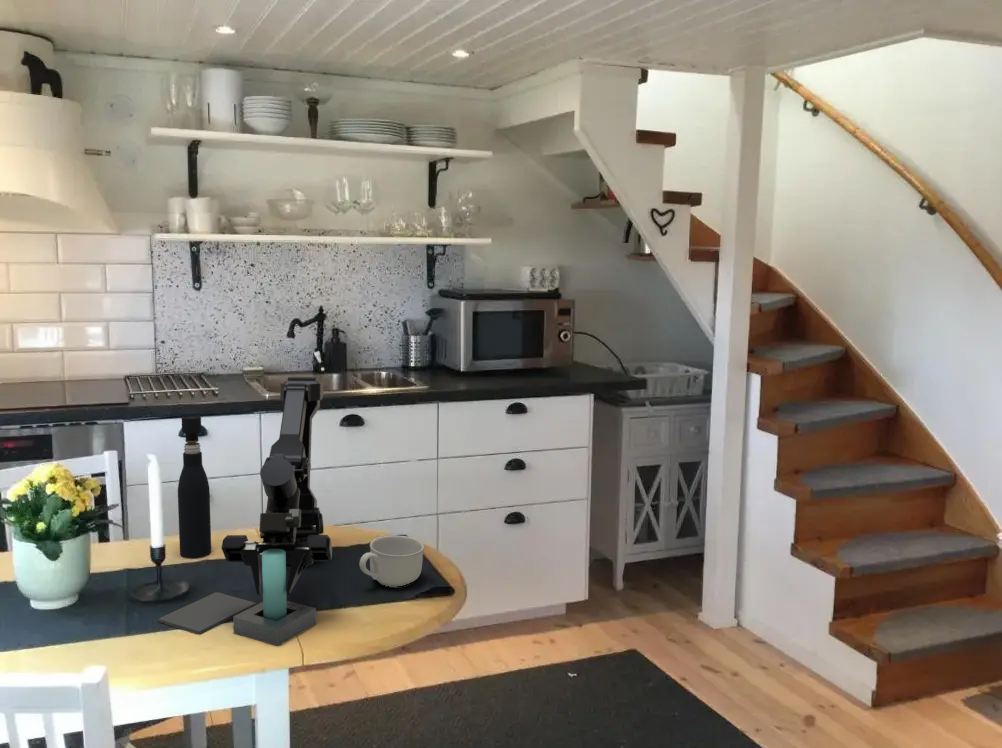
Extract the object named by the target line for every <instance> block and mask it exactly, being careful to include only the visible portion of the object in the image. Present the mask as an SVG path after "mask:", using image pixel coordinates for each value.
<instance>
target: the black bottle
mask: <svg viewBox="0 0 1002 748" xmlns="http://www.w3.org/2000/svg"><path fill="white" fill-rule="evenodd" d="M181 433H183V434H185V443H184V446H183V451H184V452H183V453H182V461H183V466H182V469H181V473H180V475H179V479H178V485H177V509H178V511H177V512H178V536H179V537H178V538H179V556H180V557H181V558H184V559H191V560H192V559H200V558H205V557H207V556H210V554H212V534H211V533H212V532H211V528H212V527H211V496H210V494H211V493H210V492H211V491H210V483H209V478H208V476H207V473H206V471H205V467H204V466H203V452H202V450H201V445H200V444H201V443H200V442H199V441H200V439H199V433H202V416H201V415H198V414H188V415H183V416H181Z"/></svg>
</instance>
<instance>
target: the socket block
mask: <svg viewBox="0 0 1002 748" xmlns="http://www.w3.org/2000/svg"><path fill="white" fill-rule="evenodd" d="M286 603H287V616H285V617H283V618H281V619H279V620H278V621H274V620H270V619H267V618H263V601H261V602H260V603H258V604H257V603H256V605H255V606H253V607H251V608H249V609H247V610H245V611H243V612H241V613H239V614H237V615H235V616H233V618H232V619H233V621H232V623H233V628H232V629H233V631H232V632H233V634H236V635H239V636H243V637H246V638H249V639H253V640H256V641H259V642H263V643H266V644H269V645H273V646H277V647H279V646H280V645H283V644H284V643H286V642H288V641H289V640H291V639H293V638H295V637H296V636H298V635H300V634H302V633H303V632H305V631H307V630H308V629H310V628H312V627H314V626H316V625H317V608H316V607H312V606H308V605H305V604H301V603H297V602H293V601H289V600H287V599H286Z"/></svg>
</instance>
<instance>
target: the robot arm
mask: <svg viewBox="0 0 1002 748" xmlns="http://www.w3.org/2000/svg"><path fill="white" fill-rule="evenodd" d="M279 384H280V386H279V392H280V394H279V400H280V401H283V403H284V404H283V409H282V417H281V425H280V431H279V437H278V439H277V440H276V441H275V442H273V444H272V445H271V447H270V451H269V456H268V457H266V459H265V460H264V463H263V465H262V467H261V468H260V471H259V472H260V473H259V475H260V479H261V482H262V486H263V490H264V492H265V495H266V497H267V503H266V509H265V513H264V512H262V513H260V514H259V528H258V529H259V537H260V539H262V541H258V542H257V541H255V540H251V541H249V539H248V536H247V535H246V534H238V535H237V534H232V535H231V534H229V535H228V534H227V535H226V536H225V537H224V538H223V539H222V544H221V551H222V553H223V556H224V559H225V560H226V562H229V563H240V562H241V563H243V564H244V566H246V567H250V569H251V573H252V577H253V583H254V587H255V588H254V589H255V592H256V595H259V596H260V595H261V591H262V590H261V589H262V559H261V558H260V556H261V554H262V552H264V551H266V550H269V549H282V550H285V552H286V565H289V566H291V567H290V570H289V575H288V580H287V583H286V595H290V594H291V592H292V591H293V590H294V587H295V585H296V584H297V582H298V580H299V578H300V576H301V574H302V573H303V572H304V571H305V569H306V568H307V567H308V566H312V565H313V564H314V563H316V562H331V561H332V559H333V557H332V556H333V545H332V540H331V537H330V535H328V534H324V519H323V518H324V517H323V514H322V513H321V510H320V507H318V500H317V498H316V497H315V495H314V493H313V491H312V489H311V486H310V485H311V471H312V469H311V468H312V465H311V464H312V463H311V462H312V460H311V459H312V457H311V456H312V431H313V430H312V429H313V427H312V425H313V422H312V421H313V418H314V416H315V415H316V414H317V412H318V411H319V409H320V407H321V401H322V400H323V397H324V382H322V381H321V382H319V380H318V376H310V377H308V376H288V377H287V380H286V381H282V382H280V383H279Z"/></svg>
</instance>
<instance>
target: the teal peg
mask: <svg viewBox="0 0 1002 748" xmlns="http://www.w3.org/2000/svg"><path fill="white" fill-rule="evenodd" d="M261 563H262V570H261V579H262V602H263V618H267V619H270V620H274V621H278V620H279V619H281V618H283V617H285V616H287V603H286V600H287V569H286V568H287V564H286V552H285V550H282V549H269V550H266V551H264V552H262V553H261Z"/></svg>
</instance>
